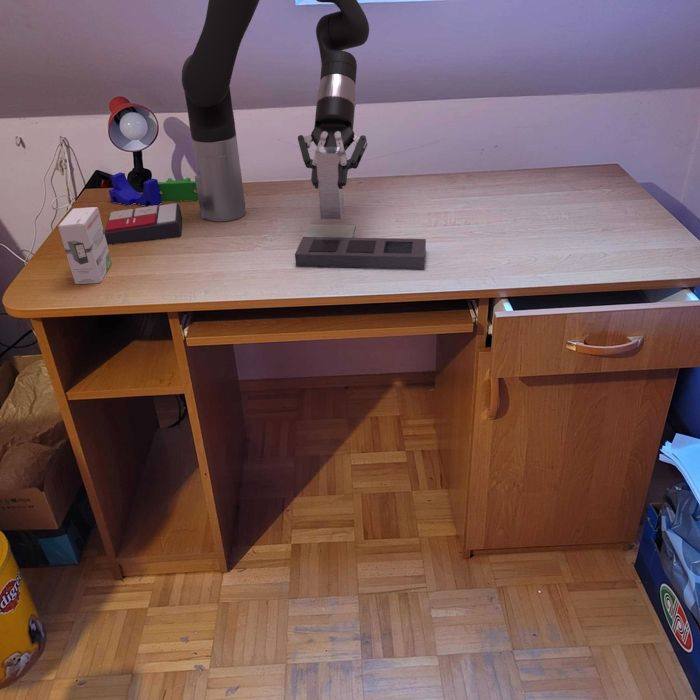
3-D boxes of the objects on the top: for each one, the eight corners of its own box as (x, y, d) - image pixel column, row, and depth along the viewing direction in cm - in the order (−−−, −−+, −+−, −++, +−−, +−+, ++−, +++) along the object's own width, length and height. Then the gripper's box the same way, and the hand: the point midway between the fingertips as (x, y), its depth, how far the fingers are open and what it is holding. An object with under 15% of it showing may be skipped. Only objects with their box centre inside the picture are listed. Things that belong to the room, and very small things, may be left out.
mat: (299, 246, 134) (299, 244, 133) (308, 226, 142) (308, 224, 142) (349, 247, 132) (349, 245, 132) (355, 227, 141) (355, 225, 140)
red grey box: (108, 210, 145) (178, 200, 147) (114, 228, 148) (182, 218, 149) (102, 230, 136) (176, 218, 138) (108, 249, 138) (181, 238, 140)
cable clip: (111, 202, 159) (105, 178, 155) (125, 196, 162) (120, 172, 159) (148, 210, 153) (143, 185, 150) (162, 204, 157) (157, 179, 153)
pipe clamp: (205, 195, 161) (202, 177, 158) (202, 201, 157) (199, 182, 155) (159, 196, 161) (155, 178, 158) (155, 202, 158) (151, 183, 155)
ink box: (87, 264, 130) (71, 206, 124) (113, 263, 130) (98, 205, 124) (74, 285, 123) (56, 225, 117) (101, 283, 123) (84, 223, 117)
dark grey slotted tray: (295, 266, 126) (294, 253, 125) (303, 248, 133) (302, 236, 131) (424, 269, 123) (424, 256, 122) (425, 250, 130) (425, 238, 128)
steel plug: (320, 219, 132) (315, 153, 124) (324, 211, 135) (319, 146, 128) (340, 219, 131) (336, 153, 124) (343, 211, 134) (340, 146, 127)
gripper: (296, 94, 128) (287, 178, 125) (369, 94, 126) (363, 178, 123) (304, 115, 136) (296, 195, 132) (373, 115, 133) (367, 195, 130)
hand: (328, 186), depth 128 cm, fingers closed on steel plug, 4 cm apart
